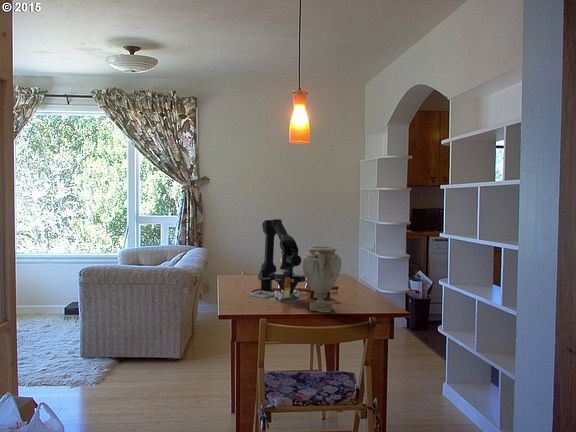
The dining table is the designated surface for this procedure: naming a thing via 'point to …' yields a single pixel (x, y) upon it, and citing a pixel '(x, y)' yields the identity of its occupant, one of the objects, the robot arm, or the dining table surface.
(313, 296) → the ammunition clip
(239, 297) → the dining table surface
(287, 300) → the spacer board
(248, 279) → the dining table surface
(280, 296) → the spacer posts
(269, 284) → the robot arm
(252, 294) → the tray
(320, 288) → the urn
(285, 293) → the brass nut
